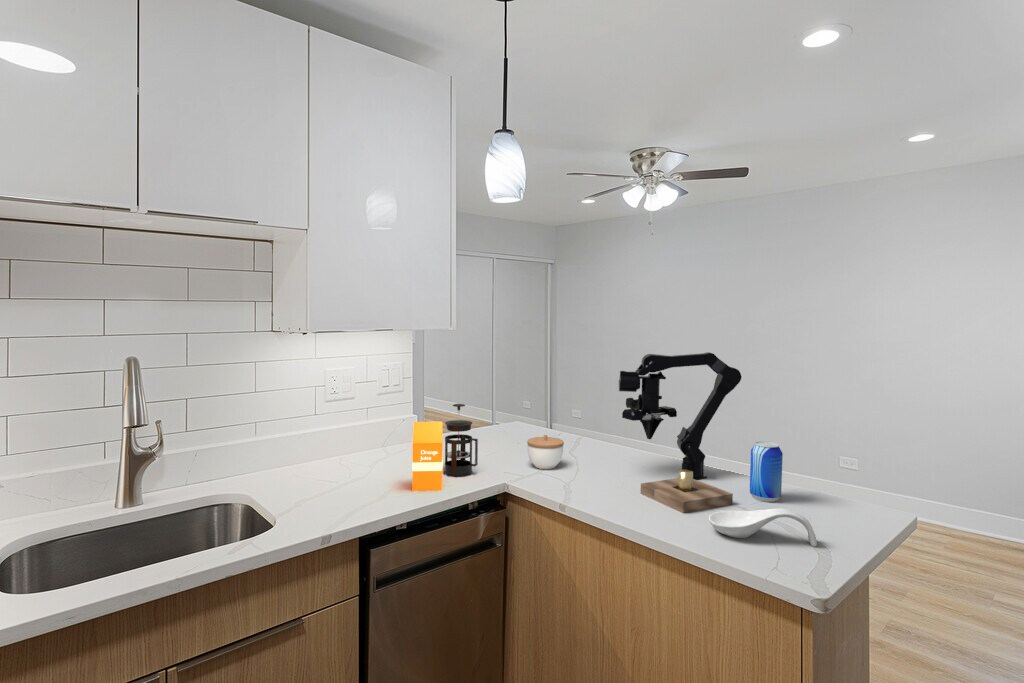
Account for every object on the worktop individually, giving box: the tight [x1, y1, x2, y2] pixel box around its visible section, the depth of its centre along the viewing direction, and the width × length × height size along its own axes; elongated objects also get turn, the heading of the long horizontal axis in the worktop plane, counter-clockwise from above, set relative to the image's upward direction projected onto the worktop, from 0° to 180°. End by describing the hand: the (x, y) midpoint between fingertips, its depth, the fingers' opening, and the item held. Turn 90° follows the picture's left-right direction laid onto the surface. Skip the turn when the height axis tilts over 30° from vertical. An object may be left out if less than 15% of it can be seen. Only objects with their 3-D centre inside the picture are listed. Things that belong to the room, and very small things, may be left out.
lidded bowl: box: [526, 434, 565, 470], centre depth 194 cm, size 13×13×11 cm
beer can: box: [749, 441, 783, 503], centre depth 162 cm, size 8×8×16 cm
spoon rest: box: [708, 508, 817, 547], centre depth 134 cm, size 24×12×7 cm, turn 71°
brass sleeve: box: [677, 469, 693, 492], centre depth 161 cm, size 4×4×8 cm
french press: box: [443, 403, 479, 478], centre depth 184 cm, size 12×9×23 cm
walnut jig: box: [640, 477, 734, 514], centre depth 161 cm, size 18×18×3 cm
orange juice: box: [411, 421, 444, 492], centre depth 169 cm, size 8×9×20 cm
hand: (649, 439), depth 185 cm, fingers closed
